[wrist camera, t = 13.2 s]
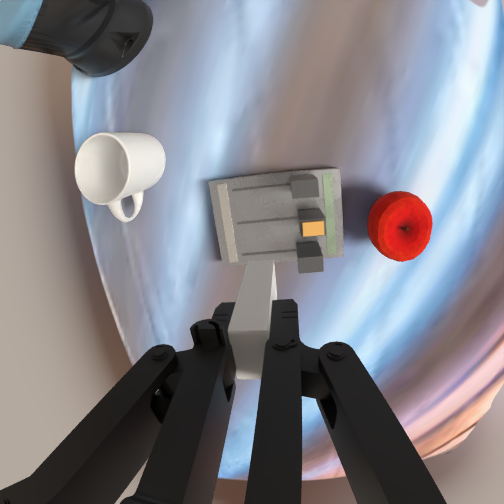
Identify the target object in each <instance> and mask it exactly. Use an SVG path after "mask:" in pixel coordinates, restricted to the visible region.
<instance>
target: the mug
mask: <svg viewBox="0 0 504 504" xmlns="http://www.w3.org/2000/svg"><path fill="white" fill-rule="evenodd" d="M164 168H165V153H164V150H163V147H162V145H161V144H160V142H159V141H158V140H157V139H156V138H154V137H153V136H151V135H148V134H145V133H97V134H94V135H92V136H91V137H89V138H88V139H87V140H86V141H85V142H84V143H83V144H82V146H81V147H80V149H79V151H78V153H77V156H76V160H75V179H76V182H77V185H78V187H79V189H80V191H81V193H82V194H83V195H84V197H85V198H87V199H88V200H89V201H90V202H92V203H95V204H98V205H108V207H109V209H110V210H111V212H112V213H113V215H114V216H115V217H116V218H117V219H119V220H120V221H123V222H129V221H131V220H132V219H134V218H135V217H136V216H137V214H138V213H139V211H140V208H141V206H142V201H143V192H144V190H146V189H148V188H150V187H151V186H153V185H154V184H155V183H157V182H158V180H159V179H160V178H161V176H162V174H163V172H164ZM130 195H131V196H132V198H133V201H134V206H135V209H134V214H133V215H132V217H130V218H127V217H126V216H125V215H124V213H123V211H122V207H121V199H123V198H125V197H128V196H130Z"/></svg>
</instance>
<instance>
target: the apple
mask: <svg viewBox="0 0 504 504" xmlns="http://www.w3.org/2000/svg"><path fill="white" fill-rule="evenodd" d="M367 227H368V234H369V237H370V240H371V242H372V243H373V245H374V246H375V247H376V248H377V250H378V251H379V252H380V253H382V254H383V255H384V256H386V257H388V258H390V259H393V260H396V261H401V262H403V261H407V260H412V259H414V258H415V257H417V256H418V255H419V254H421V253H422V252H423V250H424V249H425V247H426V246H427V244H428V242H429V240H430V235H431V231H432V216H431V213H430V211H429V209H428V207H427V206H426V204H425V203H424V202H423V201H422V200H421V199H420V198H419V197H418V196H416V195H413V194H411V193H409V192H403V191H395V192H391V193H388V194H386V195H383V196H381V197H380V198H379V199H377V200H376V202H375V203H374V204H373V205H372V207H371V209H370V212H369V216H368V223H367Z"/></svg>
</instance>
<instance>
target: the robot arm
mask: <svg viewBox="0 0 504 504" xmlns="http://www.w3.org/2000/svg"><path fill="white" fill-rule="evenodd" d="M152 25H153V15H152V12H151V9H150V8H149V6H148V5H147V4H146V3H144V2H143V1H142V0H1V1H0V44H2V45H6V46H10V47H13V48H14V49H24V50H30V51H36V52H42V53H47V54H52V55H57V56H62V57H64V58H65V59H67V60H68V61H69V62H70V63H71V64H73V66H74V67H75V68H76V69H77V70H79V71H80V72H82V73H84V74H88V75H92V76H105V75H109V74H112V73H114V72H116V71H118V70H120V69H121V68H123V67H124V66H126V65H127V64H128V63H129V62H131V61H132V60H133V59H134V58H135V57H136V56H137V55H138V53H139V52H140V51H141V50H142V48H143V47H144V45H145V43H146V42H147V40H148V38H149V36H150V33H151V30H152ZM190 331H191V335H192V338H193V342H194V347H193V348H192V349H190V350H186V351H180V352H175V349H174V348H173V347H172V346H170V345H165V344H162V345H157V346H154V347H152V348H151V349H149V350H148V351H147V352H146V353H145V354H144V355H143V356H142V357H141V358H140V359H139V360H138V361H137V362H136V363H135V365H134V366H133V367H132V368H131V369H130V370H129V371H128V372H127V373H126V374H125V375H124V376H123V377H122V378H121V379H120V381H119V382H118V383H117V384H116V385H115V386H114V387H113V388H112V389H111V390H110V391H109V392H108V393H107V394H106V395H105V396H104V397H103V398H102V400H101V401H100V402H99V403H98V404H97V405H96V406H95V407H94V408H93V409H92V410H91V411H90V412H89V414H87V416H86V417H85V418H84V419H83V420H82V421H81V422H80V423H79V424H78V425H77V426H76V427H75V429H73V430H72V432H71V433H70V434H69V435H68V436H67V437H66V438H65V439H64V440H63V441H62V442H61V443H60V445H59V446H58V447H57V448H56V449H55V450H54V451H53V452H52V453H51V454H50V455H49V457H47V459H46V460H45V461H44V462H43V463H42V464H41V465H40V466H39V467H38V468H37V469H36V471H35V472H34V473H33V474H32V475H31V476H30V477H28V478H25V479H24V480H22V481H19V482H17V483H15V484H13V485H11V486H9V487H6V488H4V489H2V490H0V504H114V503H115V502H116V501H117V500H118V498H119V497H120V495H121V494H122V493H123V492H124V490H125V489H126V488H127V486H128V485H129V484H130V482H131V481H132V480H133V478H134V477H135V476H136V474H137V473H138V471H139V470H140V469H141V467H142V466H143V465H144V463H145V462H146V460H147V459H148V458H149V459H148V462H147V464H146V467H145V469H144V472H143V475H142V477H141V480H140V483H139V485H138V488H137V490H136V492H135V494H134V495H133V496H130V497H127V498H125V499H123V500H122V501H121V503H120V504H212V500H213V495H214V490H215V486H216V481H217V477H218V472H219V467H220V462H221V458H222V453H223V448H224V443H225V438H226V434H227V429H228V424H229V419H230V414H231V409H232V404H233V399H234V394H235V389H236V385H235V380H234V378H235V373H236V374H237V379H261V386H260V394H259V402H258V410H257V418H256V425H255V433H254V441H253V448H252V455H251V462H250V469H249V476H248V483H247V490H246V496H245V503H244V504H301V485H302V396H305V397H310V398H315V399H316V402H317V404H318V407H319V409H320V411H321V414H322V416H323V419H324V421H325V424H326V426H327V429H328V431H329V434H330V436H331V439H332V441H333V444H334V446H335V449H336V451H337V454H338V456H339V459H340V461H341V464H342V466H343V469H344V471H345V474H346V476H347V479H348V481H349V484H350V486H351V489H352V491H353V493H354V496H355V498H356V501H357V504H447V503H446V502H445V500H444V498H443V496H442V494H441V493H440V491H439V489H438V487H437V485H436V484H435V482H434V480H433V478H432V476H431V475H430V473H429V471H428V470H427V468H426V466H425V464H424V463H423V461H422V459H421V457H420V456H419V454H418V452H417V451H416V449H415V447H414V446H413V444H412V442H411V441H410V439H409V437H408V436H407V434H406V432H405V431H404V429H403V427H402V426H401V424H400V422H399V421H398V419H397V418H396V416H395V414H394V413H393V411H392V409H391V408H390V406H389V405H388V403H387V401H386V400H385V398H384V397H383V395H382V393H381V392H380V390H379V389H378V387H377V386H376V384H375V382H374V381H373V379H372V378H371V376H370V375H369V373H368V371H367V370H366V368H365V367H364V365H363V364H362V362H361V361H360V359H359V358H358V356H357V354H356V353H355V351H354V350H353V348H352V347H350V346H349V345H348V344H346V343H343V342H330V343H327V344H325V345H323V346H322V347H321V348H320V349H314V348H310V347H308V346H306V345H304V344H303V343H302V342H301V341H300V338H299V324H298V307H297V304H296V302H295V301H294V300H293V299H285V300H277V291H276V279H275V267H274V259H272V260H256V261H248V263H247V266H246V269H245V273H244V276H243V280H242V283H241V286H240V290H239V293H238V297H237V300H236V302H227V303H221V304H220V305H219V306H218V307H217V308H216V309H215V311H214V314H213V316H212V319H206V320H201V321H198V322H196V323H195V324H193V325H192V326H191V328H190ZM158 389H159V390H158ZM157 390H158V391H157ZM156 391H157V392H156Z"/></svg>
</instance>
